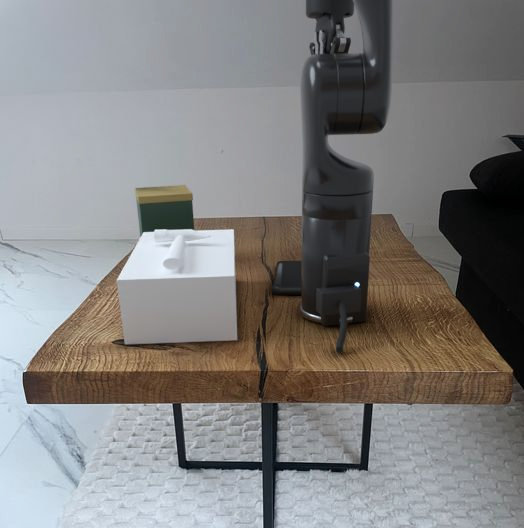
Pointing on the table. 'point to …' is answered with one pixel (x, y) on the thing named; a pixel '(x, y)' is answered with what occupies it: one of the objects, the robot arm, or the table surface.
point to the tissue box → (179, 288)
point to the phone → (287, 278)
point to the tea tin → (164, 208)
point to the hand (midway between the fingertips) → (327, 103)
